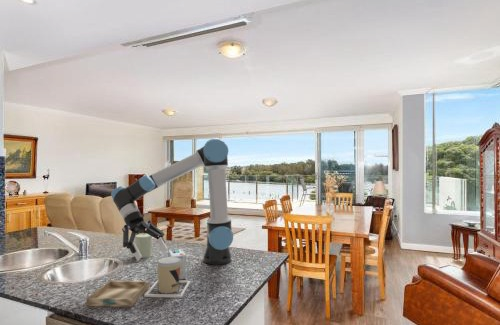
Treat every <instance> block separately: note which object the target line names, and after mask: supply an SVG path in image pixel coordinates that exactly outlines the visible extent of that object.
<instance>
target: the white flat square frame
mask: <svg viewBox="0 0 500 325" xmlns="http://www.w3.org/2000/svg"><path fill="white" fill-rule="evenodd" d="M179 284H186V285H185V286H184V288H183V289H182V291H181V293H180V294H173V293H161V294H160V293H151V292H152V291H153V290H154V289H155V287H156V286H157V285H159V282H158V279H157V280H156V281H155V282H154V283H153V284H152V286H151V287H150V288H148V289H147V290H146V291H145V292H144V294H143V296H144V298H176V299H178V298H179V299H180V298H183V297H184V295H185V293H186V292H187V289H188V288H189V286H190V284H191V280H182V279H179Z"/></svg>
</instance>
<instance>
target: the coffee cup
mask: <svg viewBox="0 0 500 325" xmlns="http://www.w3.org/2000/svg"><path fill="white" fill-rule="evenodd" d="M180 263H181V260H180V258H178V257H168V256H166V257H165V256H164V257H162V258H159V259H158V261H157V263H156V264H157V275H158V276H157V277H158V278H157V280H158V282H159V283H158V292H160V293H161V294H173V293H175V292H177V291H178V290H179V288H180V287H179V285H180V283H179V280H180V279H179V276H180Z"/></svg>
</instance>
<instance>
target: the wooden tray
mask: <svg viewBox="0 0 500 325" xmlns="http://www.w3.org/2000/svg"><path fill="white" fill-rule="evenodd" d="M149 285H150V281H147V280H145V281H144V280H143V281H142V280H109V281H108V282H106V283H105V284H103V285H102V286H101V287H99V288H98V289H97V290H96V291H94V292H93V293H91V294H90V295H89V296H88V297H87V298H86V299H85V300H86V307H124V308H125V307H126V308H127V307H131V308H132V307H133V306H134V305H135V303H136V302H137V301H138V300H139V299H140V298H141V297H142V296H144V294H145V293H146V292H147V291H148V290H149V289H150V288H149V287H150V286H149Z"/></svg>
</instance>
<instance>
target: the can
mask: <svg viewBox="0 0 500 325" xmlns="http://www.w3.org/2000/svg"><path fill="white" fill-rule="evenodd" d="M134 242H135V243H134V244H136V246H137V248H138V250H139V252H140V253H141V255H142V257H141V259H146V258H150V257H152V255H153V252H152V251H153V250H152V249H153V237H152V236H150V235H149V234H147V233H139V234H136V235H135V238H134Z"/></svg>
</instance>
